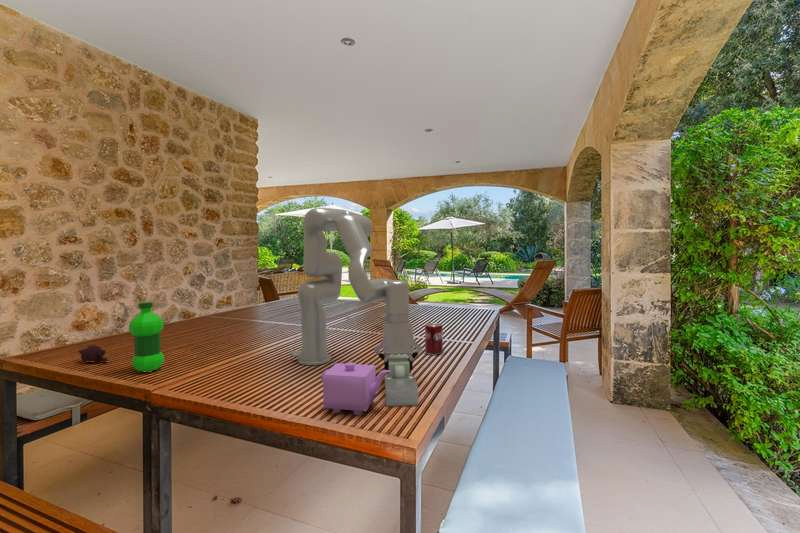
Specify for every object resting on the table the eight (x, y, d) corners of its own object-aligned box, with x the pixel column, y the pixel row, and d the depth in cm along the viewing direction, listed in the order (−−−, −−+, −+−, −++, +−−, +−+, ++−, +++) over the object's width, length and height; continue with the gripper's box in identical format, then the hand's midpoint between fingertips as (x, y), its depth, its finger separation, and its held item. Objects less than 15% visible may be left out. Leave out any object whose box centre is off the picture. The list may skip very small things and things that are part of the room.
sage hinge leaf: (389, 385, 117) (389, 368, 116) (388, 369, 131) (387, 355, 131) (411, 384, 117) (411, 367, 117) (407, 369, 131) (406, 354, 131)
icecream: (66, 347, 150) (93, 354, 145) (86, 338, 156) (113, 344, 152) (71, 363, 152) (98, 370, 148) (90, 353, 159) (117, 359, 154)
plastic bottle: (157, 364, 148) (154, 299, 147) (170, 369, 142) (167, 302, 140) (127, 371, 140) (123, 303, 138) (139, 377, 134) (136, 305, 132)
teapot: (314, 413, 104) (313, 367, 103) (328, 398, 114) (327, 356, 113) (387, 418, 100) (386, 371, 100) (394, 403, 110) (394, 359, 110)
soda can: (444, 351, 162) (444, 323, 162) (440, 356, 156) (440, 326, 155) (427, 350, 165) (427, 322, 164) (423, 354, 158) (422, 325, 157)
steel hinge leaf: (386, 406, 108) (386, 388, 108) (384, 389, 120) (384, 373, 120) (418, 405, 109) (418, 387, 108) (413, 388, 121) (413, 373, 121)
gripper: (370, 321, 121) (371, 377, 122) (425, 319, 122) (426, 375, 123) (370, 316, 128) (372, 369, 129) (422, 315, 130) (423, 367, 131)
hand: (398, 372), depth 126 cm, fingers closed on sage hinge leaf, 6 cm apart
